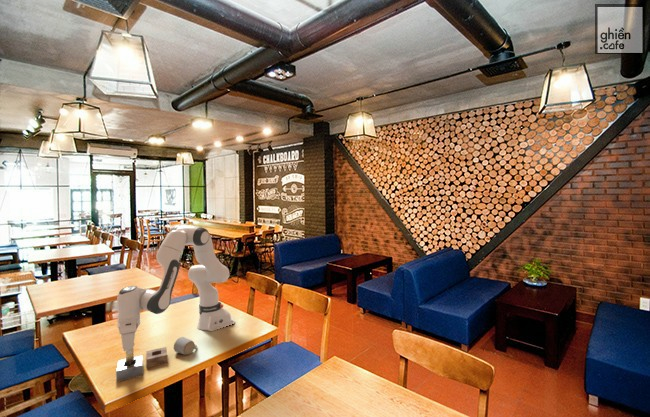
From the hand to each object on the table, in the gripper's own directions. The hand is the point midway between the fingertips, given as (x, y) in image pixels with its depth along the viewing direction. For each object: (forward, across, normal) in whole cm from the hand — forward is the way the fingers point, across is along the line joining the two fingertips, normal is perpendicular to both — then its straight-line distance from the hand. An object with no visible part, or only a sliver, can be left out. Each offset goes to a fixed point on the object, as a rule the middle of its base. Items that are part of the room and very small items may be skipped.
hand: (129, 351), depth 142 cm
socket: (+11, 0, 0) cm, 11 cm away
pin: (+7, 0, 0) cm, 7 cm away
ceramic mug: (+11, -8, +25) cm, 29 cm away
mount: (+11, -6, +11) cm, 16 cm away
